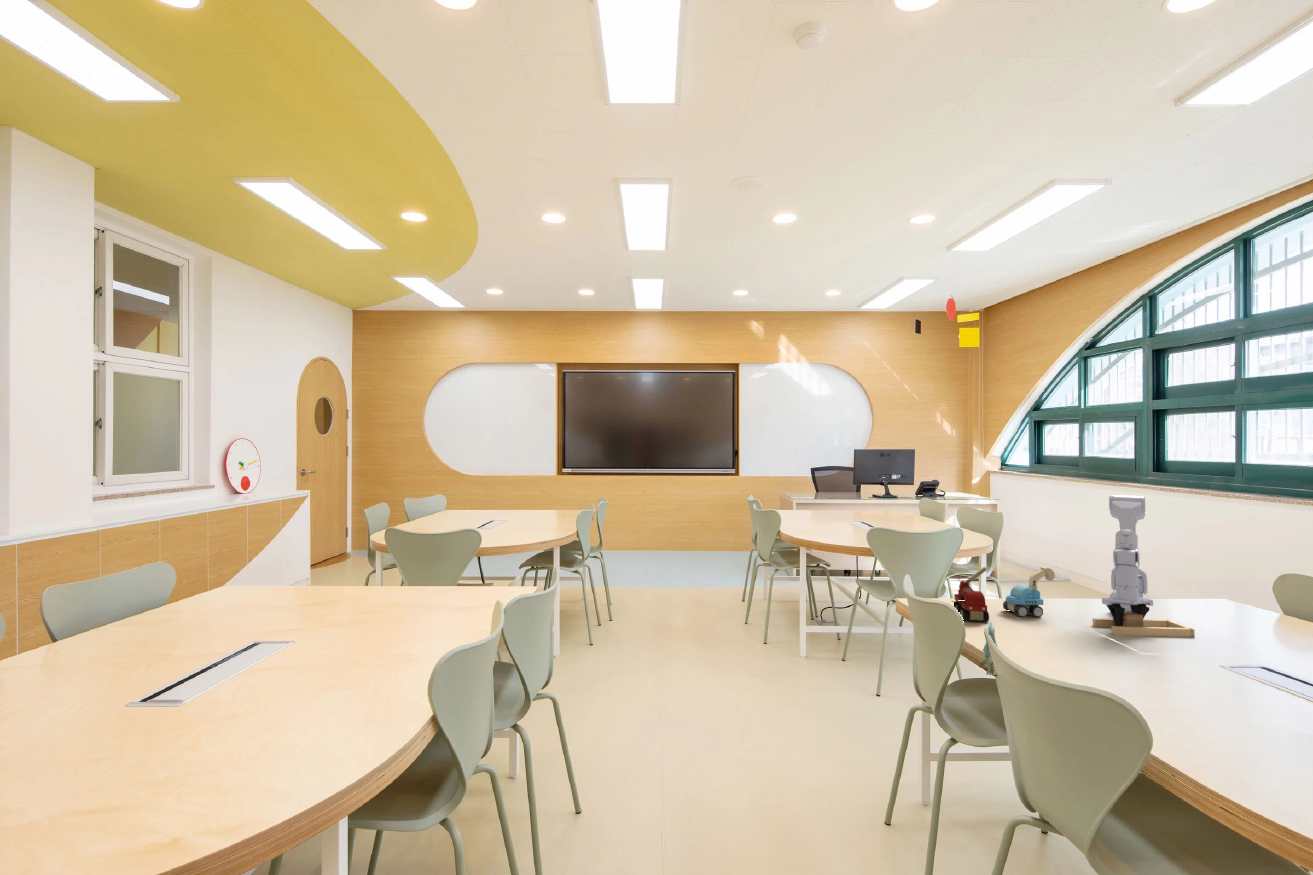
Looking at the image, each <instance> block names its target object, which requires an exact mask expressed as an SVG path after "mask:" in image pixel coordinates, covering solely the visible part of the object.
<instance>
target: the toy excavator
mask: <svg viewBox="0 0 1313 875" xmlns="http://www.w3.org/2000/svg"><path fill="white" fill-rule="evenodd" d="M1039 569H1040V570H1037V571H1036V572H1034V573H1033V574H1031V575H1030V576H1029V578H1028V586H1026V585H1024V584H1018V585H1017V584H1016V585H1015V586H1013V587H1012V588H1011V590H1010V594H1008V595H1007V596H1005V600H1004V601H1003V603H1002V607H1003V609H1004V610H1005V609H1006V610H1010V611H1012V612H1013V613H1014V614H1015V616H1018V617H1020V618H1022V617H1026V616H1028V615H1029V614H1030V615H1031V616H1034V617H1035V618H1036V617H1037V618H1041V617H1042V616H1043V615H1044V609H1043V608H1042V607H1041V606H1043V605H1044V599H1043V598H1041V592H1040V591H1039V590H1038V581H1039V580H1041V579H1042V578H1044V579H1045V580H1046V581H1050V582H1052V581H1053V580H1054V579H1055V576H1056V575H1055V574H1056V573H1055V572H1054V571H1053V569H1052V568H1049V567H1047V566H1040V567H1039ZM1006 610H1005V611H1006Z"/></svg>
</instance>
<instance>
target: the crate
mask: <svg viewBox="0 0 1313 875" xmlns="http://www.w3.org/2000/svg"><path fill="white" fill-rule="evenodd" d="M1112 619H1113V618H1112ZM1113 626H1116V625H1115V622H1114V619H1113ZM1123 626H1124V627H1143V615H1141V614H1139V613H1136V612H1133V611H1130V610H1125V611H1124V614H1123Z"/></svg>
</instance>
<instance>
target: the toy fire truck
mask: <svg viewBox="0 0 1313 875" xmlns="http://www.w3.org/2000/svg"><path fill="white" fill-rule="evenodd" d="M987 570H988V569H987V567H986V566H984V567H983V566H982V568H981V569H979V570H977V572H975V573H973V574H972V575H971V576H969V577H968V579H966V580H960V582H959V585H958V587H959V588H958V591H957V593H954V596H953V597H954V601H953V600H952V601H951V602H954V607H955V608H956V609H957V610H958V612H960V614H961V615H962V617H963V619H964V621H965V622H967V621H966V620H969V621H980V622H981V621H988V622H990V614H989V611H988V605H986V604H987V603H986V598H985V595H984V593H983V591H981V590H974V589H973V588H972V587H971V586H970V583H971V582H972V581H974V580H975V579H977V578H978V577H979V576H981V575H982V574H983V573H985V572H986V571H987ZM958 600H965V601H958Z"/></svg>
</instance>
